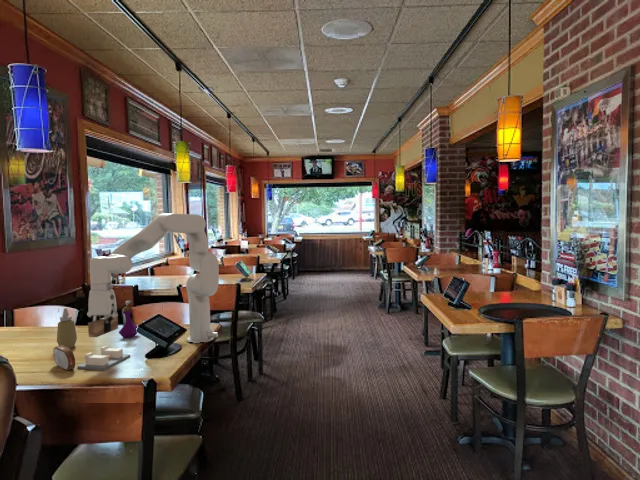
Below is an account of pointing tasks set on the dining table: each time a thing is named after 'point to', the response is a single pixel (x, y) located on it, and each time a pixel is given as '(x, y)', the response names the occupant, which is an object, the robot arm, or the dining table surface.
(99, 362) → the stand
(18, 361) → the dining table surface
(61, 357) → the tin
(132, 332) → the perfume bottle
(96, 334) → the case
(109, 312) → the robot arm
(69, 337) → the squeeze bottle
